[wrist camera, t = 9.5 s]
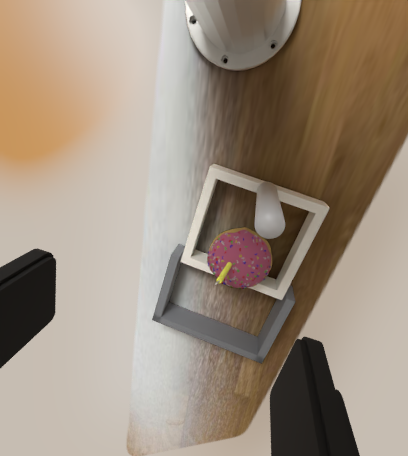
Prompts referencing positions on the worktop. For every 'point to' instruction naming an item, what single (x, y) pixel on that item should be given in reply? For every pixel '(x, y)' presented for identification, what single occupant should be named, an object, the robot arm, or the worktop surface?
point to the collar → (260, 224)
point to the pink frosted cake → (239, 258)
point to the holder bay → (213, 329)
